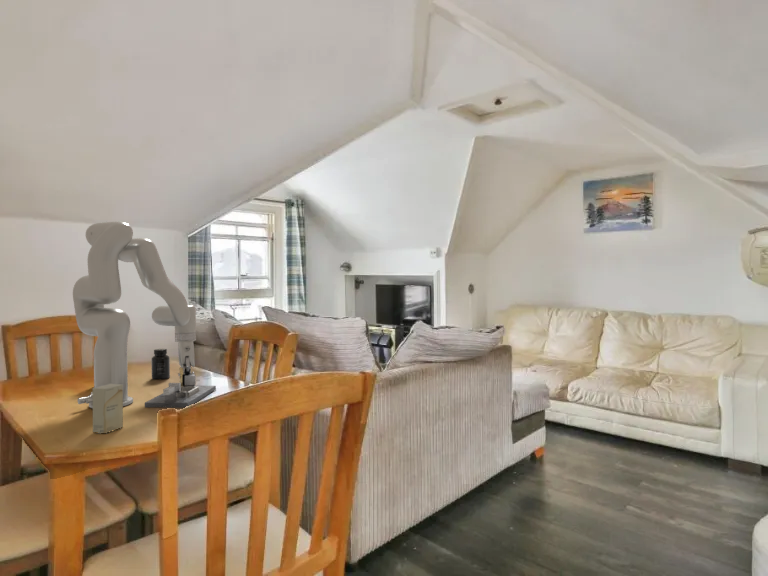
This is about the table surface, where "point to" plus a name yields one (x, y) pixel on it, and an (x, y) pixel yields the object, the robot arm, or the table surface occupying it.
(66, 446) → the table surface
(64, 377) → the table surface
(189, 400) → the shaft bench
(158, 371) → the supplement bottle
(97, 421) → the skincare box
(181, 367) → the universal joint block
